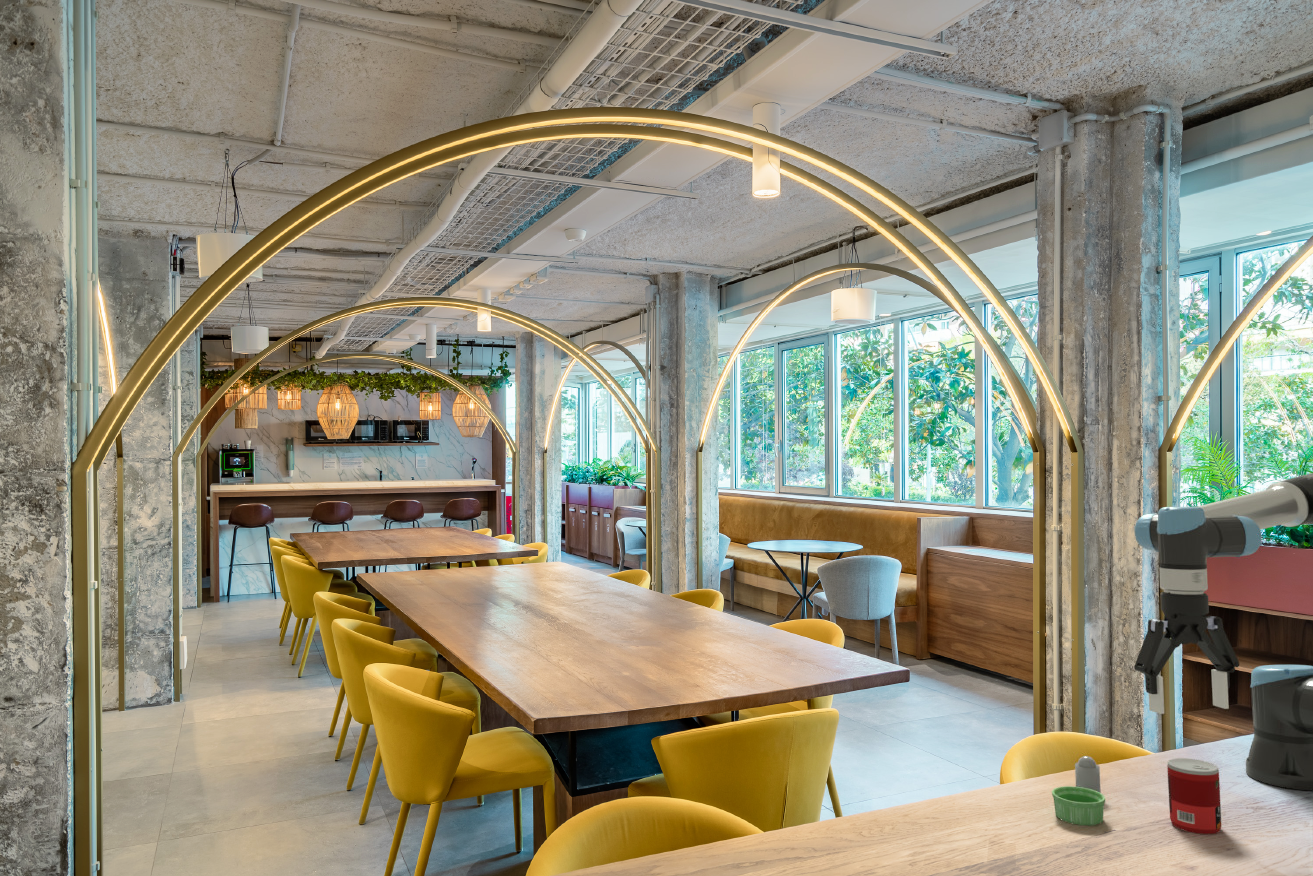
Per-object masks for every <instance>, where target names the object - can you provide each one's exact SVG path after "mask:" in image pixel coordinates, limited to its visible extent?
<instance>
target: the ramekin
mask: <svg viewBox="0 0 1313 876" xmlns="http://www.w3.org/2000/svg"><path fill="white" fill-rule="evenodd" d="M1051 795H1052V797H1053V804H1054V805H1053V806H1054V812H1055V813H1054V814H1055V815H1056V817H1057V818H1060V819H1059V820H1061V819H1062V820H1061V821H1063V822H1065V821H1066V823H1068V822H1069V823H1068V824H1071V823H1073V824H1072V825H1076V824H1078V825H1077V826H1084V825H1087V827H1088V826H1090V827H1091V825H1092V826H1098V825H1100V824H1101V823H1102V822H1104V821H1103V820H1104V811H1105V802H1106V797H1105V794H1102V793H1099V792H1097V791H1095V790H1092V789H1087V788H1082V787H1076V786H1071V785H1069V786H1068V785H1067V786H1065V785H1064V786H1059V787H1058V786H1057V787H1056V788H1053V789H1052V790H1051ZM1097 824H1098V825H1097Z"/></svg>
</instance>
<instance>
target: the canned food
mask: <svg viewBox="0 0 1313 876" xmlns="http://www.w3.org/2000/svg"><path fill="white" fill-rule="evenodd" d="M1166 765H1167V767H1166V768H1167V771H1166V772H1167V788H1168V801H1169V802H1168V804H1169V819H1170V822H1171V825H1173V826H1174V827H1175V828H1177V829H1179V830H1181V831H1185V832H1188V833H1193V834H1196V835H1197V834H1198V835H1214V834H1217V833H1219V832H1220V831H1221V829H1222V809H1221V791H1220V790H1221V789H1220V788H1221V787H1220V785H1221V783H1220V771H1219V767H1218V766H1217V765H1215V764H1214V763H1211V762H1209V761H1204V760H1201V759H1194V758H1184V757H1182V758H1181V757H1179V758H1171V759H1169V760H1168V761H1167V764H1166Z"/></svg>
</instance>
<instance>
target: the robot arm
mask: <svg viewBox="0 0 1313 876" xmlns="http://www.w3.org/2000/svg"><path fill="white" fill-rule="evenodd" d="M1301 525H1302V526H1303V525H1313V472H1311V473H1308V474H1303V475H1299V476H1296V477H1295V476H1294V477H1292V478H1288V479H1284V480H1280V481H1276V482H1274V483H1272V484H1270V485H1269V486H1268V487H1266V489H1265V490H1260V491H1257V492H1252V493H1248V494H1243V495H1240V496H1235V497H1231V498H1228V499H1227V498H1226V499H1223V500H1219V501H1215V502H1211V503H1207V504H1203V505H1202V504H1201V505H1199V506H1165V507H1161V508H1160V509H1159V510H1158V512H1155V513H1148V514H1147V513H1146V514H1144V515H1142V516H1140V517H1139V518H1138V520H1137V521H1136V522H1135V525H1134V537H1135V541H1136V542H1137V544H1138V545H1139V546H1140V547H1141V548H1143V549H1145V550H1148V551H1154V552H1156V553H1158V561H1159V563H1158V564H1159V569H1158V570H1159V588H1160V589H1161V590H1163V591H1162V592H1161V593H1160V609H1161V612H1162V613H1163V616H1164V617H1163V620H1160V619H1156V618H1155V619H1154V618H1149V619H1148V621H1147V631H1146V634H1145V637H1144V639H1143V642H1142V645H1141V647H1140V651H1139V653H1138V656H1137V657H1136V661H1135V664H1134V666H1133V668H1134V670H1135V671H1136V672H1140V673H1141V674H1143V675H1144V679H1145V681H1144V682H1145V691H1146V693H1148V706H1149V707H1148V709H1149V711H1151V712H1154V713H1157V714H1159V715H1164V714H1165V697H1164V677H1163V676H1161V675H1159V674H1160V673H1161V672H1162V670H1163V668H1164V666H1165V665H1166V664H1167V662H1168V661H1169V659H1170V657H1172V654H1173V653H1174V652H1175V650H1176V648H1178V647H1180V646H1181V645H1188V644H1196V645H1197V646H1198V648H1199V649H1200V650H1201V651H1202V652H1203V654H1204V655H1205V656H1206V658H1207V659H1208V660H1209V661H1210V662H1211V664H1212V665H1213V667H1215V669H1214V668H1213V669H1211V672H1210V673H1211V688H1212V689H1211V691H1212V706H1215V707H1217V708H1221V709H1225V710H1226V709H1227V710H1228V709H1229V689H1230V688H1231V687H1230V686H1231V683H1230V679H1231V678H1230V673H1234V672H1235V670H1236V668H1239V667H1240V661H1239V659H1238V657H1237V655H1236V653H1235V651H1234V648H1233V647H1232V645H1231V642H1230V640H1229V639H1228V636H1227V634H1226V632H1225V629H1224V623H1223V619H1222V618H1221V617H1219V616H1212V615H1208V614H1209V612H1210V611H1209V610H1210V609H1209V608H1210V607H1209V606H1210V605H1209V604H1210V602H1209V595H1208V594H1207V593H1205V592H1206V591H1207V590H1208V589H1209V588H1208V587H1209V586H1208V565H1207V564H1208V563H1207V562H1208V560H1207V558H1224V557H1226V558H1228V557H1229V558H1231V557H1232V558H1240V557H1245V556H1250V555H1253V554H1254V553H1256V552H1257V551H1258V550H1259V548H1260V546H1261V544H1262V531H1261V530H1265V529H1268V528H1269V529H1270V528H1272V527H1276V526H1283V527H1288V528H1289V527H1290V528H1292V527H1297V526H1301ZM1206 615H1207V616H1206ZM1206 630H1207V632H1206ZM1208 633H1209V634H1208ZM1250 674H1251V679H1250V693H1251V706H1252V707H1251V708H1252V721H1253V722H1252V723H1253V724H1252V725H1253V739H1252V742H1251V745H1250V748H1249V751H1248V752H1249V753H1248V757H1246V759H1245V773H1246V774H1247V776H1249V777H1250V778H1252V779H1253V780H1256V781H1258V780H1259V782H1261V781H1262V782H1261V783H1265V784H1267V783H1268V785H1271V786H1275V787H1281V788H1285V787H1286V788H1285V789H1291V788H1292V790H1300V791H1313V665H1306V664H1269V665H1259V666H1256V667H1255V668H1253V669H1252V670H1251V673H1250Z"/></svg>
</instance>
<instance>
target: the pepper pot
mask: <svg viewBox="0 0 1313 876" xmlns="http://www.w3.org/2000/svg"><path fill="white" fill-rule="evenodd" d="M1100 770H1101V769H1100V765H1098V764H1097V763H1096V761H1095V760H1094V758H1093V757H1091V756H1088V755H1084V756H1081V757H1080V758H1079V759H1078V761H1077V762H1075V763H1074V772H1075V773H1074V774H1075V775H1074V776H1075V787H1082V788H1087V789H1092V790H1095V791H1097V792H1099V793H1101V791H1102V790H1101V771H1100ZM1101 794H1102V793H1101Z"/></svg>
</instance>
